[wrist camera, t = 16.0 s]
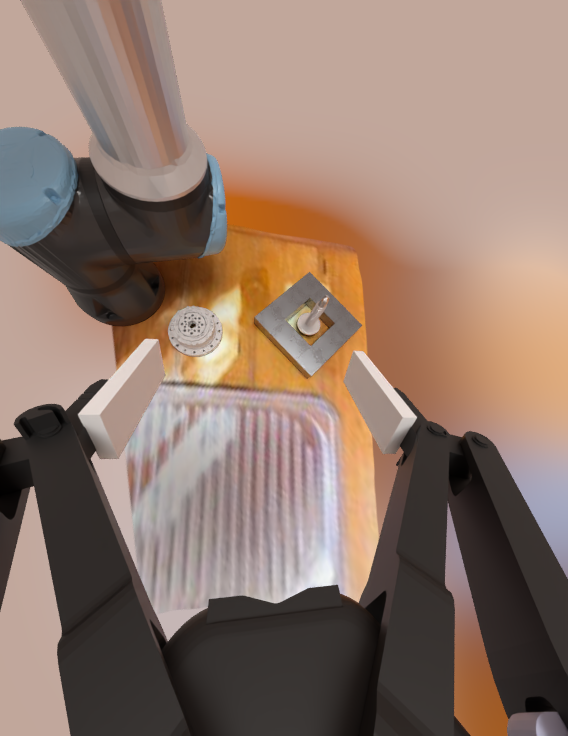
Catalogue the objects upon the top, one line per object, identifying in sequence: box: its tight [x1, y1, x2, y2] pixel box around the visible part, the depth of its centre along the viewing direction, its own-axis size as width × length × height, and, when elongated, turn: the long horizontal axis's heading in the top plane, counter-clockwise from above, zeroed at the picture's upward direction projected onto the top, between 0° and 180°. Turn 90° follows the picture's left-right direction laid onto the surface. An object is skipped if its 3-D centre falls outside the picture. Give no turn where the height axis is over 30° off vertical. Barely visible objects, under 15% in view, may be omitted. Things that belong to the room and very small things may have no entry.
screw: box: [297, 295, 329, 335], centre depth 43 cm, size 13×5×5 cm
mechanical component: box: [168, 306, 222, 357], centre depth 44 cm, size 10×4×10 cm
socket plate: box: [254, 272, 362, 378], centre depth 48 cm, size 16×16×3 cm
